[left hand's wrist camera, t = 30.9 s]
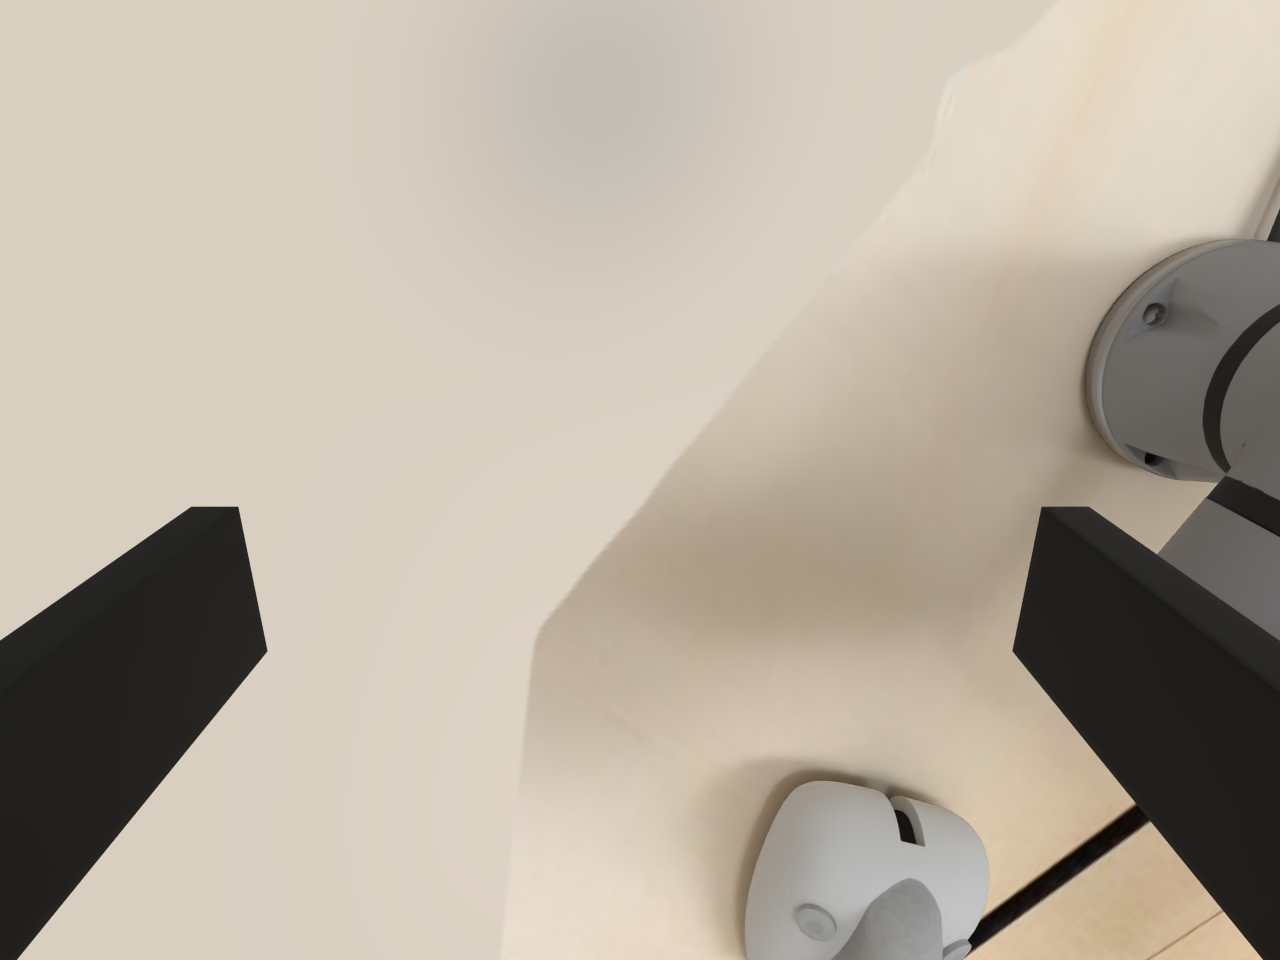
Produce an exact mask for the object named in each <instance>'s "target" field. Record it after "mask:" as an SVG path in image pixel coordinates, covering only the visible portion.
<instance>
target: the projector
mask: <svg viewBox="0 0 1280 960" xmlns="http://www.w3.org/2000/svg"><path fill="white" fill-rule="evenodd" d="M988 890H989V865H988V859H987V855H986V851H985V848H984V846H983V843H982V841H981V839H980V838H979V836H978V834H977V833H976V832H975V830H974V829H973V828H972V827H971V826H970V825H969V824H968V822H966V821H965V820H964V819H963V818H961V817H960V816H958V815H957V814H955V813H953V812H951V811H949V810H946V809H944V808H941V807H938V806H935V805H932V804H929V803H925V802H922V801H918V800H914V799H910V798H907V797H903V796H894V797H892V798H891V799H890V800H888V798H887V797H886V796H885V795H884V794H883V793H882V792H880V791H878V790H874V789H870V788H866V787H861V786H857V785H852V784H847V783H841V782H834V781H812V782H808V783H805V784H802V785H800V786H799V787H797V788H796V789H795V790H793V791H792V792H791V793H790V795H789V796H788V797H787V799H786V800H785V801H784V803H783V804H782V806H781V808H780V809H779V811H778V813H777V815H776V817H775V819H774V821H773V823H772V825H771V827H770V830H769V832H768V834H767V836H766V839H765V841H764V844H763V847H762V849H761V852H760V854H759V857H758V860H757V863H756V866H755V869H754V873H753V877H752V880H751V884H750V889H749V893H748V899H747V905H746V914H745V949H746V956H747V960H961V959H962V958H963V957H965V956H966V954H967V953H968V952H969V951H970V949H971V945H970V944H969V942H968V941H967V940H968V938H969V937H970V936H971V934H972V933H973V932H974V930H975V928H976V927H977V925H978V923H979V921H980V919H981V917H982V915H983V911H984V908H985V905H986V902H987V897H988Z"/></svg>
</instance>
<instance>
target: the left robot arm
mask: <svg viewBox="0 0 1280 960" xmlns="http://www.w3.org/2000/svg"><path fill="white" fill-rule="evenodd" d="M1085 391H1086V401H1087V405H1088V410H1089V413H1090V416H1091V419H1092V421H1093V423H1094V426H1095V428H1096V429H1097V431H1098V433H1099V434H1100V436H1101V437H1102V438H1103V440H1104V441H1105V442H1106V443H1107V444H1108V445H1109V446H1110V447H1111V448H1112V449H1113V450H1114V451H1115V452H1116V453H1118V454H1119V455H1120V456H1122V457H1123V458H1125V459H1127V460H1129V461H1130V462H1132V463H1134V464H1136V465H1138V466H1139V467H1141V468H1143V469H1145V470H1147V471H1149V472H1151V473H1154V474H1156V475H1159V476H1163V477H1166V478H1171V479H1176V480H1186V481H1202V482H1215V483H1218V484H1217V486H1216V487H1215V488H1214V489H1213V490H1212V492H1211V493H1210V494H1209V495H1208V496H1207V497H1206V498H1205V499H1204V500H1203V501H1202V502H1201V504H1200V505H1199V506H1198V507H1197V508H1196V509H1195V511H1194V512H1193V513H1192V514H1191V515H1190V516H1189V518H1188V519H1187V520H1186V521H1185V522H1184V523H1183V525H1182V526H1181V527H1180V528H1179V529H1178V531H1177V532H1176V533H1175V534H1174V535H1173V536H1172V538H1171V539H1170V540H1169V541H1168V542H1167V543H1166V545H1165V546H1164V547H1163V548H1162V549H1161V551H1160V552H1159V553H1158V554H1155V553H1154V552H1153V551H1151V550H1150V549H1148V548H1147V547H1145V546H1144V545H1143V544H1141V543H1140V542H1138V541H1137V540H1135V539H1134V538H1133V537H1131V536H1130V535H1128V534H1127V533H1125V532H1124V531H1123V530H1121V529H1120V528H1118V527H1117V526H1115V525H1114V524H1113V523H1111V522H1110V521H1108V520H1107V519H1105V518H1104V517H1103V516H1101V515H1100V514H1098V513H1097V512H1095V511H1094V510H1093V509H1091V508H1090V507H1042V508H1041V513H1040V518H1039V523H1038V528H1037V533H1036V538H1035V542H1034V547H1033V552H1032V557H1031V562H1030V567H1029V572H1028V577H1027V582H1026V587H1025V592H1024V597H1023V602H1022V607H1021V612H1020V617H1019V622H1018V626H1017V631H1016V636H1015V641H1014V646H1013V652H1014V654H1015V655H1016V656H1017V657H1018V659H1019V660H1020V661H1021V662H1022V664H1023V665H1024V666H1025V667H1026V668H1027V670H1028V671H1029V672H1030V673H1031V675H1032V676H1033V677H1034V678H1035V680H1036V681H1037V682H1038V683H1039V684H1040V686H1041V687H1042V688H1043V689H1044V691H1045V692H1046V693H1047V694H1048V696H1049V697H1050V698H1051V699H1052V700H1053V702H1054V703H1055V704H1056V705H1057V707H1058V708H1059V709H1060V710H1061V712H1062V713H1063V714H1064V715H1065V716H1066V718H1067V719H1068V720H1069V721H1070V723H1071V724H1072V725H1073V726H1074V728H1075V729H1076V730H1077V731H1078V732H1079V734H1080V735H1081V736H1082V737H1083V739H1084V740H1085V741H1086V742H1087V744H1088V745H1089V746H1090V747H1091V748H1092V750H1093V751H1094V752H1095V753H1096V755H1097V756H1098V757H1099V758H1100V760H1101V761H1102V762H1103V763H1104V764H1105V766H1106V767H1107V768H1108V769H1109V771H1110V772H1111V773H1112V774H1113V776H1114V777H1115V778H1116V779H1117V780H1118V782H1119V783H1120V784H1121V785H1122V787H1123V788H1124V789H1125V790H1126V792H1127V793H1128V794H1129V795H1130V796H1131V798H1132V799H1133V800H1134V801H1135V803H1136V804H1137V805H1138V806H1139V808H1140V809H1141V810H1142V811H1143V812H1144V814H1145V815H1146V816H1147V817H1148V819H1149V820H1150V821H1151V822H1152V824H1153V825H1154V826H1155V827H1156V828H1157V830H1158V831H1159V832H1160V833H1161V835H1162V836H1163V837H1164V838H1165V840H1166V841H1167V842H1168V843H1169V844H1170V846H1171V847H1172V848H1173V849H1174V851H1175V852H1176V853H1177V854H1178V856H1179V857H1180V858H1181V859H1182V860H1183V862H1184V863H1185V864H1186V865H1187V867H1188V868H1189V869H1190V870H1191V872H1192V873H1193V874H1194V875H1195V876H1196V878H1197V879H1198V880H1199V881H1200V883H1201V884H1202V885H1203V886H1204V888H1205V889H1206V890H1207V891H1208V892H1209V894H1210V895H1211V896H1212V897H1213V899H1214V900H1215V901H1216V902H1217V904H1218V905H1219V906H1220V907H1221V908H1222V910H1223V911H1224V912H1225V913H1226V915H1227V916H1228V917H1229V918H1230V920H1231V921H1232V922H1233V923H1234V924H1235V926H1236V927H1237V928H1238V929H1239V931H1240V932H1241V933H1242V934H1243V936H1244V937H1245V938H1246V939H1247V940H1248V942H1249V943H1250V944H1251V945H1252V947H1253V948H1254V949H1255V950H1256V952H1257V953H1258V954H1259V955H1260V956H1261V958H1262V959H1263V960H1280V209H1279V212H1278V214H1277V217H1276V219H1275V222H1274V224H1273V227H1272V229H1271V232H1270V234H1269V237H1268V239H1267V241H1259V240H1246V239H1229V240H1219V241H1214V242H1209V243H1205V244H1201V245H1198V246H1194V247H1192V248H1189V249H1186V250H1184V251H1181V252H1179V253H1177V254H1175V255H1173V256H1171V257H1169V258H1168V259H1166V260H1164V261H1162V262H1161V263H1159V264H1157V265H1156V266H1155V267H1153V268H1152V269H1150V270H1149V271H1148V272H1146V273H1145V274H1144V275H1143V276H1141V277H1140V278H1139V279H1138V280H1137V281H1136V282H1135V283H1134V284H1133V285H1131V286H1130V287H1129V288H1128V289H1127V290H1126V292H1125V293H1124V294H1123V295H1122V296H1121V297H1120V298H1119V300H1118V301H1117V302H1116V303H1115V305H1114V306H1113V307H1112V309H1111V310H1110V312H1109V313H1108V315H1107V316H1106V318H1105V320H1104V321H1103V323H1102V325H1101V327H1100V329H1099V331H1098V333H1097V335H1096V338H1095V340H1094V342H1093V345H1092V348H1091V351H1090V355H1089V359H1088V363H1087V369H1086V378H1085ZM266 652H267V647H266V641H265V636H264V631H263V626H262V622H261V617H260V612H259V607H258V602H257V597H256V592H255V587H254V582H253V577H252V572H251V567H250V562H249V557H248V553H247V547H246V543H245V538H244V533H243V528H242V523H241V518H240V513H239V508H238V507H190V508H189V509H188V510H186V511H185V512H183V513H182V514H180V515H179V516H177V517H176V518H175V519H173V520H172V521H170V522H169V523H167V524H166V525H165V526H163V527H162V528H160V529H159V530H157V531H156V532H155V533H153V534H152V535H150V536H149V537H147V538H146V539H145V540H143V541H142V542H140V543H139V544H138V545H136V546H135V547H133V548H132V549H130V550H129V551H128V552H126V553H125V554H123V555H122V556H120V557H119V558H118V559H116V560H115V561H113V562H112V563H110V564H109V565H107V566H106V567H105V568H103V569H102V570H100V571H99V572H97V573H96V574H95V575H93V576H92V577H90V578H89V579H88V580H86V581H85V582H83V583H82V584H80V585H79V586H77V587H76V588H75V589H73V590H72V591H70V592H69V593H67V594H66V595H65V596H63V597H62V598H60V599H59V600H58V601H56V602H55V603H53V604H52V605H50V606H49V607H47V608H46V609H45V610H43V611H42V612H40V613H39V614H38V615H36V616H35V617H33V618H32V619H30V620H29V621H28V622H26V623H25V624H23V625H22V626H20V627H19V628H18V629H16V630H15V631H13V632H12V633H10V634H9V635H8V636H6V637H5V638H3V639H2V640H0V960H17V959H18V958H19V956H20V955H21V954H22V953H23V952H24V950H25V949H26V948H27V947H28V945H29V944H30V943H31V942H32V940H33V939H34V938H35V937H36V935H37V934H38V933H39V932H40V931H41V929H42V928H43V927H44V926H45V924H46V923H47V922H48V921H49V920H50V918H51V917H52V916H53V915H54V913H55V912H56V911H57V910H58V908H59V907H60V906H61V905H62V904H63V902H64V901H65V900H66V899H67V897H68V896H69V895H70V894H71V892H72V891H73V890H74V889H75V888H76V886H77V885H78V884H79V883H80V881H81V880H82V879H83V878H84V876H85V875H86V874H87V873H88V872H89V870H90V869H91V868H92V867H93V865H94V864H95V863H96V862H97V860H98V859H99V858H100V857H101V856H102V854H103V853H104V852H105V851H106V849H107V848H108V847H109V846H110V844H111V843H112V842H113V841H114V840H115V838H116V837H117V836H118V835H119V833H120V832H121V831H122V830H123V828H124V827H125V826H126V825H127V824H128V822H129V821H130V820H131V819H132V817H133V816H134V815H135V814H136V812H137V811H138V810H139V809H140V807H141V806H142V805H143V804H144V803H145V801H146V800H147V799H148V798H149V796H150V795H151V794H152V793H153V792H154V790H155V789H156V788H157V787H158V785H159V784H160V783H161V782H162V780H163V779H164V778H165V777H166V775H167V774H168V773H169V772H170V771H171V769H172V768H173V767H174V766H175V764H176V763H177V762H178V761H179V760H180V758H181V757H182V756H183V755H184V753H185V752H186V751H187V750H188V748H189V747H190V746H191V745H192V744H193V742H194V741H195V740H196V739H197V737H198V736H199V735H200V734H201V732H202V731H203V730H204V729H205V728H206V726H207V725H208V724H209V723H210V721H211V720H212V719H213V718H214V716H215V715H216V714H217V713H218V712H219V710H220V709H221V708H222V707H223V705H224V704H225V703H226V702H227V700H228V699H229V698H230V697H231V696H232V694H233V693H234V692H235V691H236V689H237V688H238V687H239V686H240V684H241V683H242V682H243V681H244V680H245V678H246V677H247V676H248V675H249V673H250V672H251V671H252V670H253V668H254V667H255V666H256V665H257V664H258V662H259V661H260V660H261V659H262V657H263V656H264V655H265V654H266Z"/></svg>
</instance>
